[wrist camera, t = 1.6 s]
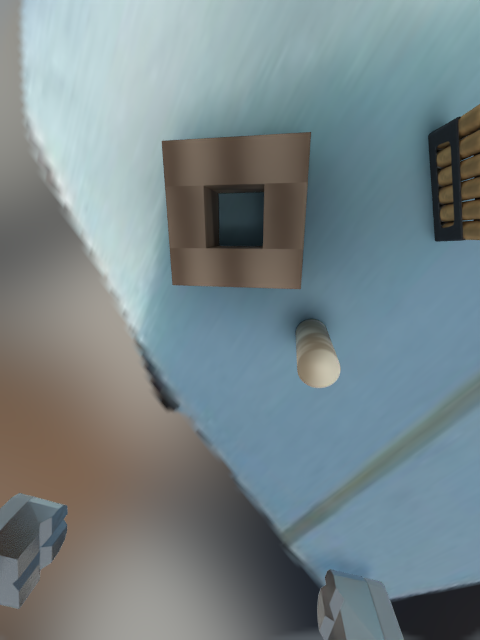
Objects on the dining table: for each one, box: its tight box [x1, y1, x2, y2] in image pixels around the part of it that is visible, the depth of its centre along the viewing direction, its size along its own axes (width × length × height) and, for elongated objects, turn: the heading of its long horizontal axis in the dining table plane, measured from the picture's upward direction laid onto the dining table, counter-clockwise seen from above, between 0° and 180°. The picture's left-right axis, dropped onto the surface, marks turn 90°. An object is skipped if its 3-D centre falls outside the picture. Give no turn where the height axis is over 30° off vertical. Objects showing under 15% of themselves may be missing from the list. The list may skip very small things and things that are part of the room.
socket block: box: [162, 132, 311, 289], centre depth 31 cm, size 14×14×6 cm
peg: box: [296, 319, 340, 388], centre depth 31 cm, size 4×4×10 cm
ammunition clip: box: [428, 104, 480, 241], centre depth 23 cm, size 11×2×12 cm, turn 14°
